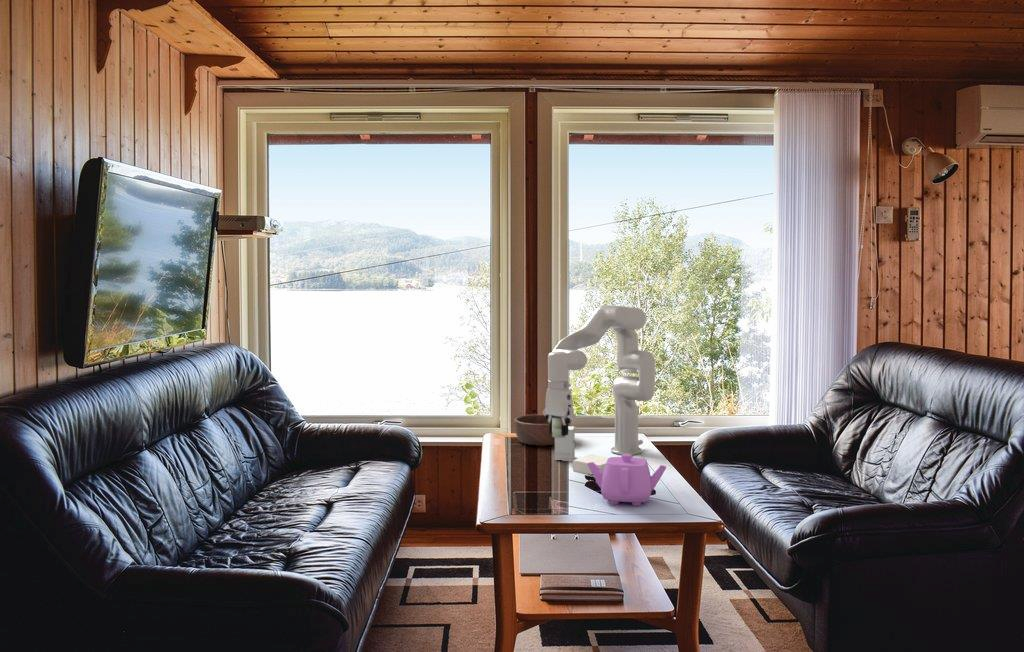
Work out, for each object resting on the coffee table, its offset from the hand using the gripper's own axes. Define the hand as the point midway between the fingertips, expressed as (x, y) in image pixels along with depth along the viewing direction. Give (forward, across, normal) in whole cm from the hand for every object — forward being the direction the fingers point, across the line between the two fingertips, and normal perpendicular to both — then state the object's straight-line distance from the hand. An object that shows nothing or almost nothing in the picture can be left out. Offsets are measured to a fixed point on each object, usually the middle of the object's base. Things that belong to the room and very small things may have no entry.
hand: (558, 433), depth 276 cm
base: (+15, -9, -10) cm, 20 cm away
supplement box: (+15, +11, -18) cm, 25 cm away
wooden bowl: (+15, +38, -36) cm, 55 cm away
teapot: (+14, -39, +14) cm, 44 cm away
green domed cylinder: (+1, 0, 0) cm, 1 cm away
